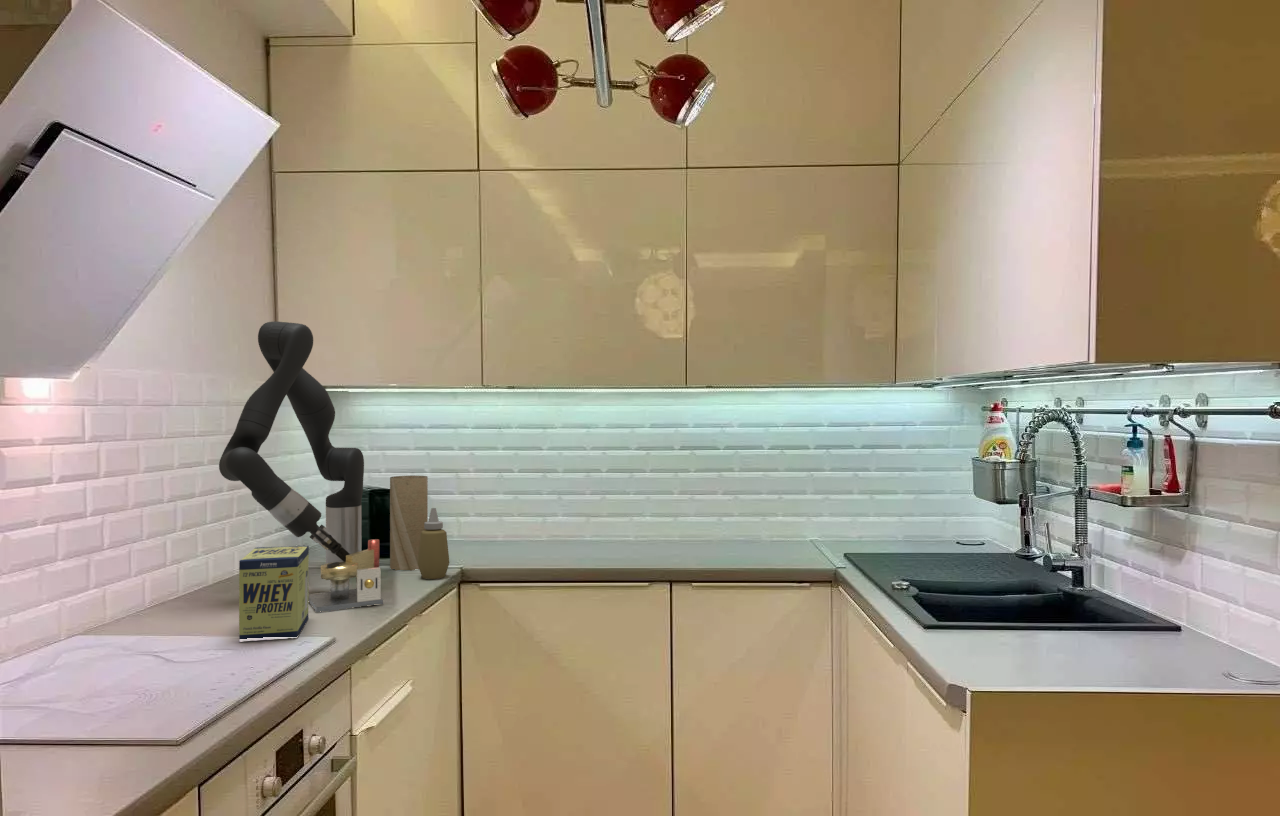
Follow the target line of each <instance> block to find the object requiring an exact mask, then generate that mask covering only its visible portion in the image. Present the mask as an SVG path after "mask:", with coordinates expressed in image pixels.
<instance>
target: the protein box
mask: <svg viewBox="0 0 1280 816" xmlns="http://www.w3.org/2000/svg"><path fill="white" fill-rule="evenodd" d="M309 547H310V546H309V545H289V546H288V545H287V546H286V545H283V546H260V547H259V546H258V547H254V548H253V549H252V550H251V551H250V552H249V553H247V554H246V555H245V556H244V557H242V558H241V559H239V560H238V562H239V563H238V566H239V567H238V568H239V569H238V570H239V571H238V576H239V577H238V578H239V579H238V584H239V585H238V587H239V588H238V590H239V591H238V592H239V593H238V594H239V596H238V601H239V602H238V617H239V618H238V623H239V624H238V627H239V628H238V629H239V630H238V632H239V633H238V634H239V635H238V637H239V638H238V639H247V638H263V637H297V636H298V635H299V634H301V633H302V631H303V629H304V628H305V626H304V625H306V624H307V622H308V620H309V602H308V596H309V594H310V593H309V592H310V591H309V589H310V588H309V563H310V562H309V560H310V559H309V557H310V556H309V555H310V553H309V550H310V549H309ZM305 623H306V624H305ZM301 630H302V631H301ZM300 632H301V633H300ZM299 636H300V635H299ZM299 636H298V637H299Z"/></svg>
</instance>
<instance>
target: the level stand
mask: <svg viewBox="0 0 1280 816" xmlns="http://www.w3.org/2000/svg"><path fill="white" fill-rule="evenodd" d="M381 569H382V568H381V567H380V566H379V567H377V568H367V569H357V570H356V577H355V587H356V588H353V589H351V588H350V578H349V579H342V580H329V582H330V583H329V584H330V586H329V590H330V591H326V592H325V591H324V592H316V593H309V596H308V601H309V602H310V603H309V602H308V603H309V605H310V604H311V605H312V606H313V608H314V609H315V610H314V609H313V608H312V609H313V610H314V612H315V611H316V612H320V611H321V612H320V613H323V612H322V611H328V612H332V611H331V610H336V611H340V610H339V609H344V610H347V609H346V608H352V607H360V606H367V605H374V604H383V605H384V599H383V598H382V597H381V596H382V595H381V594H382V593H381V589H382V587H381V582H382V581H381V577H382V576H381V575H382V574H381ZM311 605H310V606H311ZM312 606H311V607H312ZM360 608H361V607H360ZM352 609H353V608H352ZM316 612H315V613H316Z"/></svg>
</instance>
